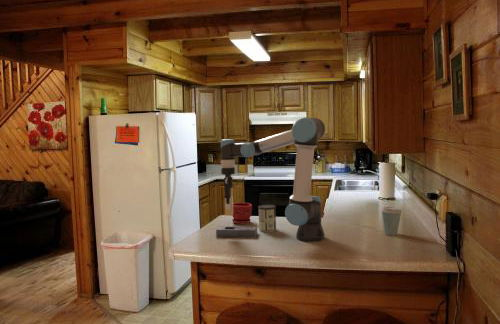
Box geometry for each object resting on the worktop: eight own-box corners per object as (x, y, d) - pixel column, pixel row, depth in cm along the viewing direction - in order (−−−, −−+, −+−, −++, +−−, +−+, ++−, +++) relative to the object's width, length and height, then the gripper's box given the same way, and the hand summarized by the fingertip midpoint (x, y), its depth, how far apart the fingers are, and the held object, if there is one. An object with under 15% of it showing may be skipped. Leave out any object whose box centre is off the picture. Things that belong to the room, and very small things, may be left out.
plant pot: (243, 225, 260) (243, 206, 259) (227, 223, 268) (227, 204, 267) (256, 221, 271) (256, 203, 270) (240, 219, 279) (239, 201, 278)
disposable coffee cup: (386, 230, 240) (387, 204, 239) (405, 234, 232) (405, 207, 231) (377, 234, 233) (377, 207, 231) (396, 237, 225) (396, 210, 224)
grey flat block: (257, 233, 241) (257, 226, 241) (255, 237, 233) (255, 230, 233) (219, 233, 244) (219, 226, 244) (216, 236, 236) (216, 229, 236)
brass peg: (233, 214, 240) (232, 187, 239) (232, 215, 236) (231, 188, 235) (226, 213, 240) (225, 187, 239) (225, 215, 236) (224, 188, 235)
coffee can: (266, 226, 256) (266, 203, 255) (279, 229, 249) (279, 205, 248) (255, 230, 249) (254, 206, 248) (268, 232, 242) (267, 208, 241)
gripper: (224, 165, 245) (225, 205, 247) (218, 168, 228) (219, 211, 230) (237, 165, 244) (238, 205, 246) (231, 168, 227) (232, 211, 229)
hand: (229, 208), depth 238 cm, fingers closed on brass peg, 4 cm apart
